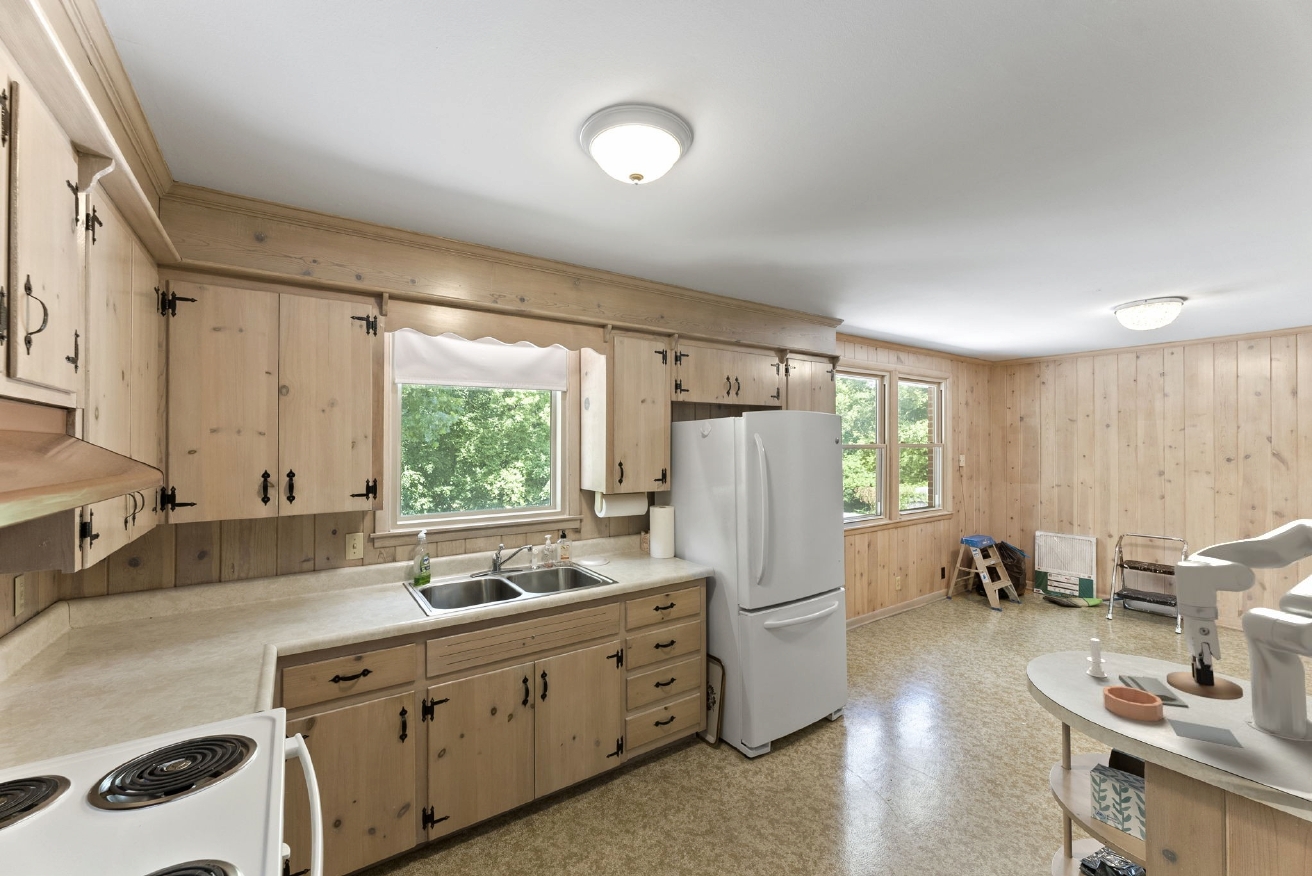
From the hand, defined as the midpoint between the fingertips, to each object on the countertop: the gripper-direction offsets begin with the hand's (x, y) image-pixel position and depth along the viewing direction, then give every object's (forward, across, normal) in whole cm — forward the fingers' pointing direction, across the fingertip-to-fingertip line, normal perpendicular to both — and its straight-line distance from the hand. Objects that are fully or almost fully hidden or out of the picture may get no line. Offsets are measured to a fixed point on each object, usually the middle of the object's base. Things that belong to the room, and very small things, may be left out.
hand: (1203, 680), depth 142 cm
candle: (+15, +34, +19) cm, 42 cm away
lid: (+2, 0, 0) cm, 2 cm away
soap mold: (+15, +24, +7) cm, 30 cm away
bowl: (+14, +6, +14) cm, 21 cm away
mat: (+14, -1, +1) cm, 14 cm away
